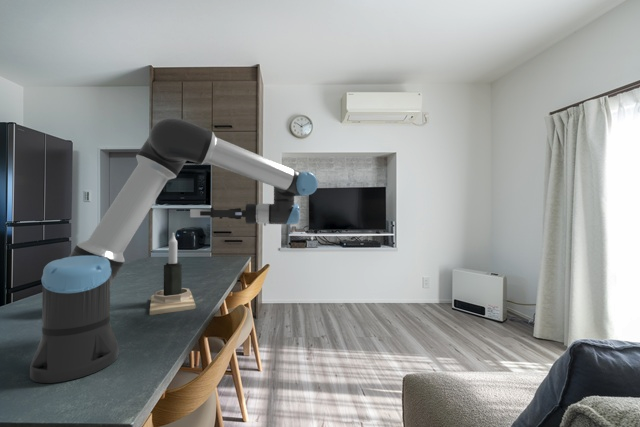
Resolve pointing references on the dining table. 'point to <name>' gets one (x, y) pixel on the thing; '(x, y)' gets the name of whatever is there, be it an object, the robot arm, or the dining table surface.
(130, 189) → the robot arm
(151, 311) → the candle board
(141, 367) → the dining table surface
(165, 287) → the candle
